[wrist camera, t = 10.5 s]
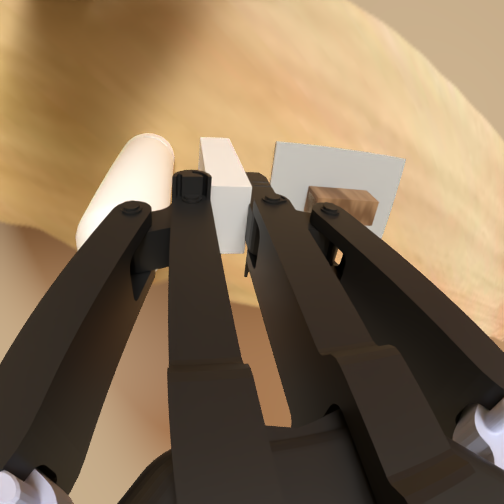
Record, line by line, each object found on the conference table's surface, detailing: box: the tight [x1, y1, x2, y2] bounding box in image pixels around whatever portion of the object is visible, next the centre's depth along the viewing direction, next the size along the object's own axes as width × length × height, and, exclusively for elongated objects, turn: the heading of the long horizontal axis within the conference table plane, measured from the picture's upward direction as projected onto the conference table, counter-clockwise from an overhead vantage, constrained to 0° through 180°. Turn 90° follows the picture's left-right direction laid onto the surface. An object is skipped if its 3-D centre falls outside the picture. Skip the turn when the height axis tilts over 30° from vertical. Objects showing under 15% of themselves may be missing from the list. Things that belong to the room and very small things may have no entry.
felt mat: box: [270, 141, 406, 238], centre depth 53 cm, size 18×24×1 cm
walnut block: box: [304, 186, 379, 226], centre depth 51 cm, size 4×4×11 cm
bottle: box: [76, 133, 175, 272], centre depth 32 cm, size 8×8×28 cm
